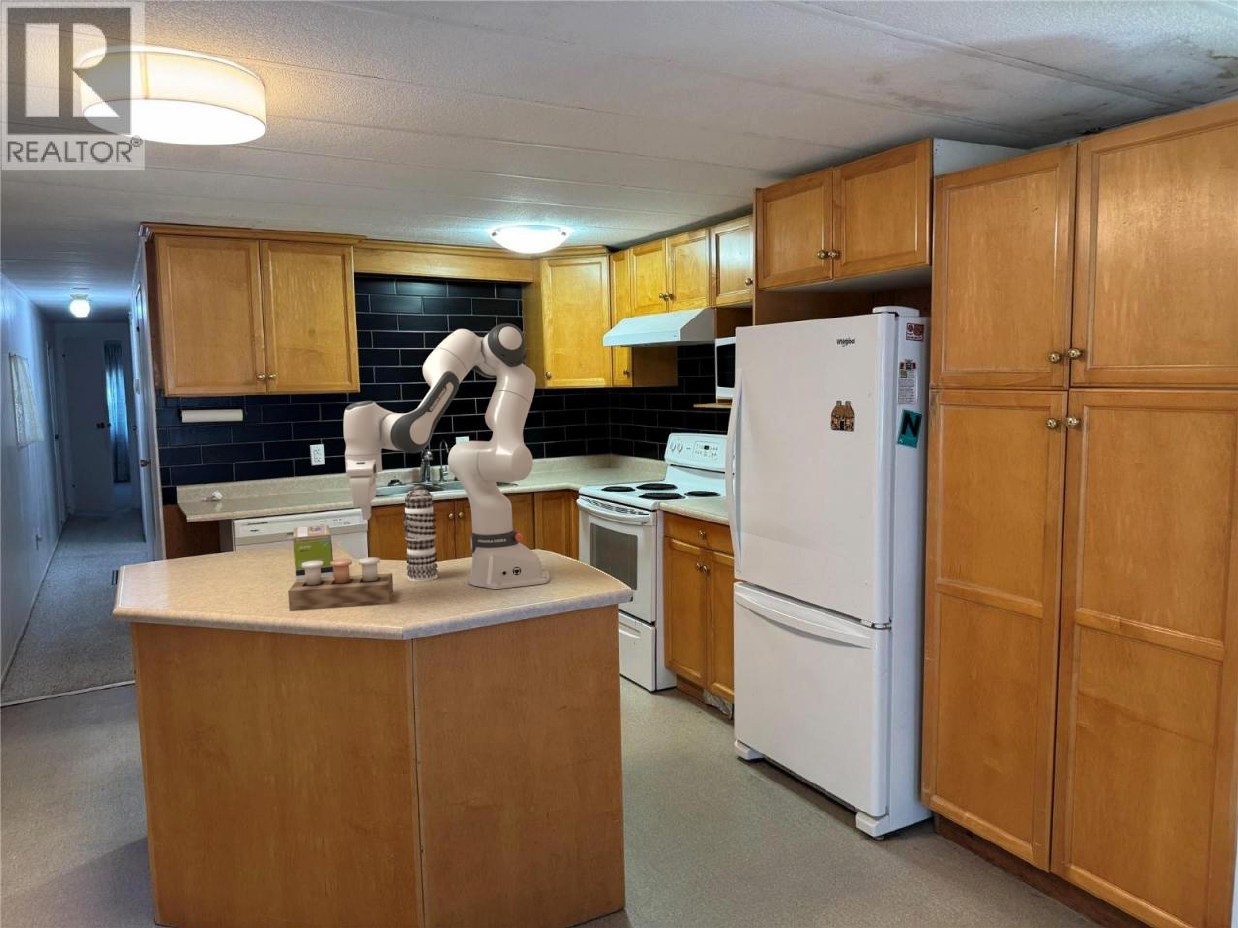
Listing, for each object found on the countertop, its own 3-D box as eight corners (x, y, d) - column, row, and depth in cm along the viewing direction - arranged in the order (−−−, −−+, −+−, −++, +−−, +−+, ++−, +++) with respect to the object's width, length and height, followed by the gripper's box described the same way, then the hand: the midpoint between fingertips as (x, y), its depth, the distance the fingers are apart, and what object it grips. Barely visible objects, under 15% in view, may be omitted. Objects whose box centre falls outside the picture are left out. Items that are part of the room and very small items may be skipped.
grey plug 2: (381, 576, 219) (380, 556, 219) (379, 581, 214) (378, 561, 213) (361, 577, 218) (359, 557, 218) (358, 582, 213) (357, 562, 213)
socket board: (393, 591, 224) (392, 573, 223) (389, 603, 212) (388, 584, 211) (299, 597, 219) (297, 579, 219) (289, 610, 208) (288, 590, 207)
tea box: (296, 576, 242) (293, 526, 241) (333, 573, 246) (329, 523, 244) (296, 589, 228) (292, 535, 227) (334, 585, 232) (331, 532, 230)
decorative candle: (402, 582, 233) (397, 493, 230) (410, 574, 242) (405, 489, 239) (435, 581, 233) (431, 493, 230) (441, 573, 242) (437, 488, 239)
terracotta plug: (353, 578, 218) (352, 558, 217) (351, 583, 213) (350, 562, 212) (333, 579, 217) (331, 559, 216) (329, 584, 212) (328, 564, 211)
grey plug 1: (325, 579, 217) (324, 559, 216) (322, 584, 212) (321, 564, 211) (304, 581, 216) (303, 561, 215) (301, 586, 211) (299, 565, 210)
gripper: (356, 461, 222) (359, 512, 224) (345, 470, 202) (348, 526, 204) (380, 460, 223) (383, 511, 225) (372, 469, 203) (375, 525, 205)
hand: (366, 518), depth 214 cm, fingers closed
